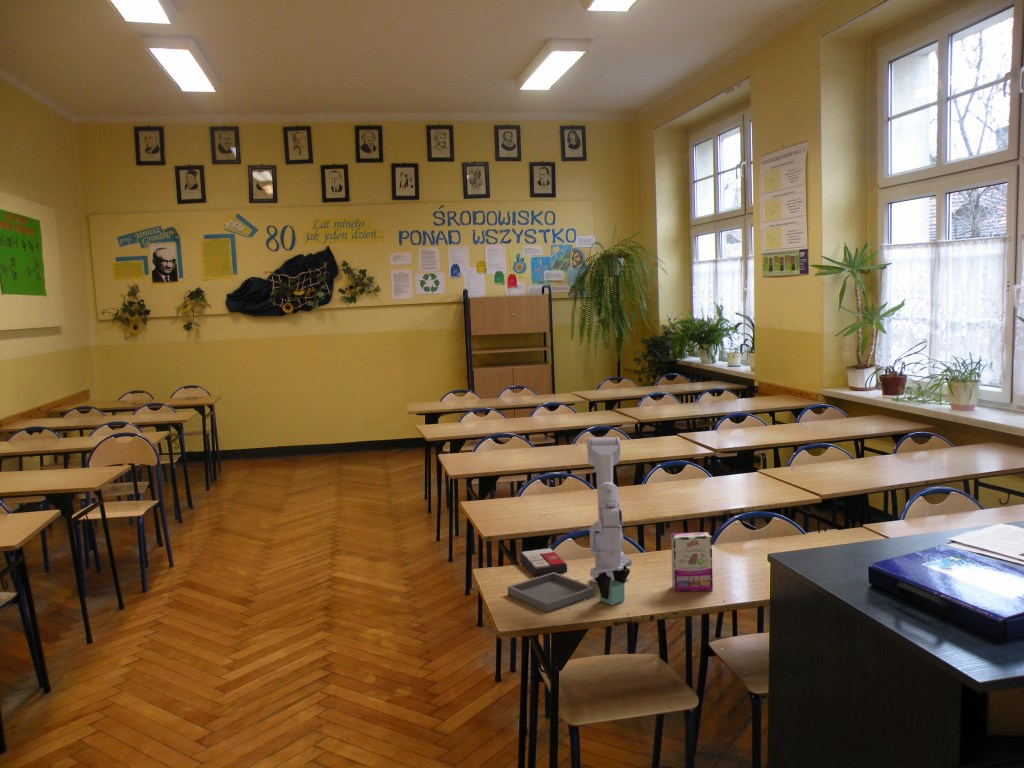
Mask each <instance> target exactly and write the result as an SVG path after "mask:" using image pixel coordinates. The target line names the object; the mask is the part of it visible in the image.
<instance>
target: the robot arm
mask: <svg viewBox="0 0 1024 768" xmlns="http://www.w3.org/2000/svg"><path fill="white" fill-rule="evenodd" d="M586 453H587V462H588V465H589V466H592V467H593V468H594V470H595V473H596V491H597V493H596V495H597V512H598V513H597V517H598V518H597V519H598V520H597V521H596V522H594V523H593V524H592V525H590V528H589V546H590V547H589V548H590V551H591V553H594V567H593V568H591V569H590V570H589V571H590V572H589V573H590V575H589V576H590V577H592V578H589V579H588V580H589V582H592V583H595V584H597V586H598V591H599V590H600V593H601V597H602V598H604V599H608V597H609V585H610V581H611V579H613V580H616V581H619V582H621V583H624V585H625V584H626V582H627V581H629V580H630V578H628V577H629V575H630V573H631V569H630V568H628V567H632V565H633V564H632V560H633V559H631V558H628V557H626V554H625V553H624V552H623V550H624V535H623V528H622V527H623V523H624V522H623V521H624V519H623V518H624V517H623V511H622V507H621V503H620V498H619V490H618V486H617V485H616V484H614V466H617V464H619V461H620V457H621V440H620V437H619V436H612V437H611V436H610V437H609V436H607V437H590V436H588V438H587V440H586Z"/></svg>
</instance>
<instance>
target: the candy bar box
mask: <svg viewBox="0 0 1024 768" xmlns="http://www.w3.org/2000/svg"><path fill="white" fill-rule="evenodd" d="M670 539H671V540H670V541H671V543H670V544H671V576H672V577H671V581H672V583H671V584H672V588H673V590H674V591H675V593H688V592H690V593H691V592H709V591H711V592H712V591H713V590H714V589H713V586H714V585H713V584H714V583H713V538H712V535H711V534H710V533H709V532H708V531H705V532H704V531H702V532H679V533H678V532H677V533H676V532H675V533H671V534H670Z"/></svg>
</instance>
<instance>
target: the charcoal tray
mask: <svg viewBox="0 0 1024 768" xmlns="http://www.w3.org/2000/svg"><path fill="white" fill-rule="evenodd" d="M595 592H596V591H595V587H593V586H591V585H588V584H585V583H583V582H580V581H578V580H575V579H573V578H570V577H567V576H565V575H563V574H561V573H560V574H558V573H555V572H552V573H549V574H546V575H543V576H539V577H534V578H531V579H528V580H527V579H526V580H525V581H521V582H518V583H515V584H512V585H508V586H507V596H509V595H510V597H511V596H512V597H511V598H514V599H516V600H518V601H521V603H524V602H525V604H526V605H529V606H531V607H532V608H536V609H537V608H538V610H540V611H542V612H544V611H545V613H546V612H547V613H546V614H549V613H551V611H552V612H555V611H557V610H556V609H558V610H560V609H563V608H565V606H566V607H569V606H571V604H572V605H574V604H577V603H580V602H583V601H585V600H584V599H586V600H588V599H591V598H593V596H594V597H596V593H595ZM590 597H591V598H590ZM582 600H583V601H582ZM579 601H580V602H579ZM576 602H577V603H576ZM568 605H569V606H568ZM562 607H563V608H562ZM554 610H555V611H554ZM548 612H549V613H548Z"/></svg>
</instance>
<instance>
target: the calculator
mask: <svg viewBox="0 0 1024 768" xmlns="http://www.w3.org/2000/svg"><path fill="white" fill-rule="evenodd" d="M519 556H520V558H519V560H520V561H519V562H520V564H521V565H522V567H525V569H526V570H527V571H528V572H529V573H530V574H531V575H532V576H533V577H534V578H536V576H539V577H540V576H543V575H546V574H549V573H552V572H555V573H560V574H562V573H561V572H566V573H568V564H567V563H566V562H565V561H564V560H563V559H562V558H561V557H560V556H559V555H558V554H557V553H556V552H555V551H554V550H553V549H552V548H551V547H550V548H541V549H534V550H525V551H522V552H520V554H519Z"/></svg>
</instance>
